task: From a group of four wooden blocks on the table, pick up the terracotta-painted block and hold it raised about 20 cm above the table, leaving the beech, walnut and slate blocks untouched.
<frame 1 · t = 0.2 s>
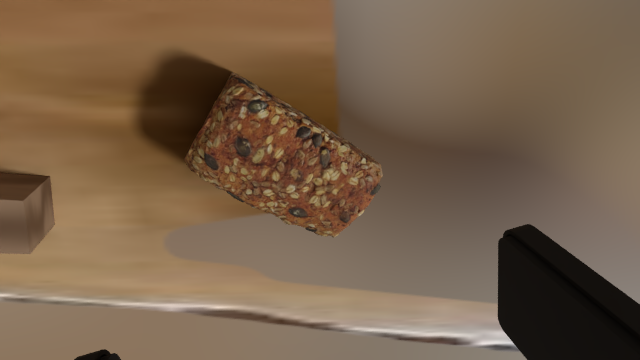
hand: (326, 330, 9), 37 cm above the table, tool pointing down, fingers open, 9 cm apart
bread: (280, 145, 46), on the table
walnut block: (21, 198, 43), on the table
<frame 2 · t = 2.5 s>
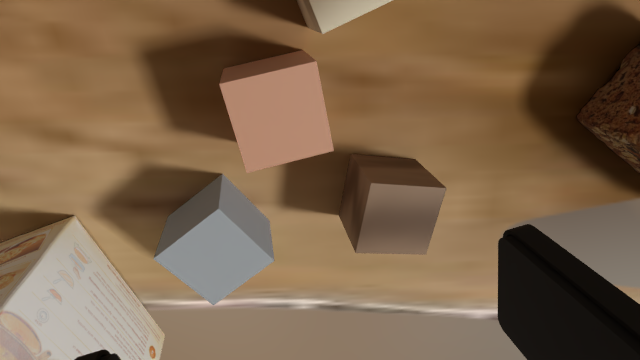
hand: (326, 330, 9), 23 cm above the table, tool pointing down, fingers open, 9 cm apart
walnut block: (376, 187, 35), on the table
coffeecake box: (89, 292, 34), on the table
terracotta block: (273, 98, 30), on the table
slate block: (220, 218, 33), on the table
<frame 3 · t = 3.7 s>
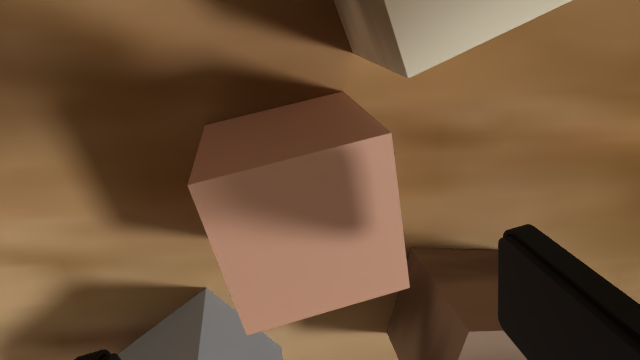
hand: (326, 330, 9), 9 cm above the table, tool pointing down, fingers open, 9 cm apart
walnut block: (445, 291, 23), on the table
terracotta block: (290, 170, 18), on the table
slate block: (203, 348, 21), on the table
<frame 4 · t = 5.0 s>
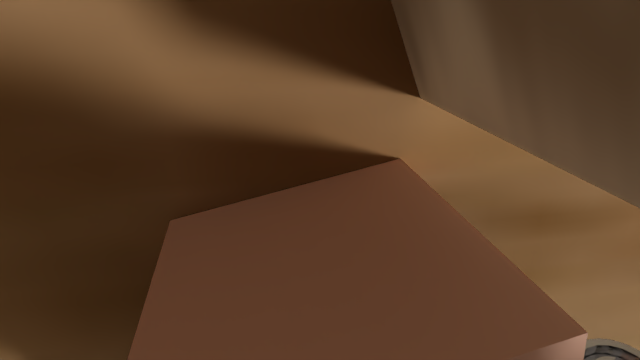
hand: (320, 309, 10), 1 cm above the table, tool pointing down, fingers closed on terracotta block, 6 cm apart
terracotta block: (312, 279, 11), on the table, touching gripper
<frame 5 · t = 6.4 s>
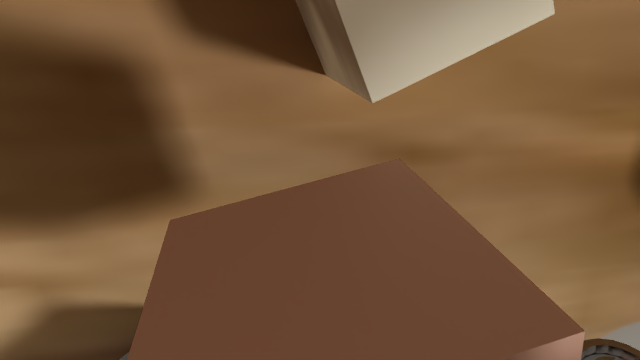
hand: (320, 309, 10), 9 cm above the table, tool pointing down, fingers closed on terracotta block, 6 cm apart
terracotta block: (312, 279, 11), point 8 cm above the table, touching gripper
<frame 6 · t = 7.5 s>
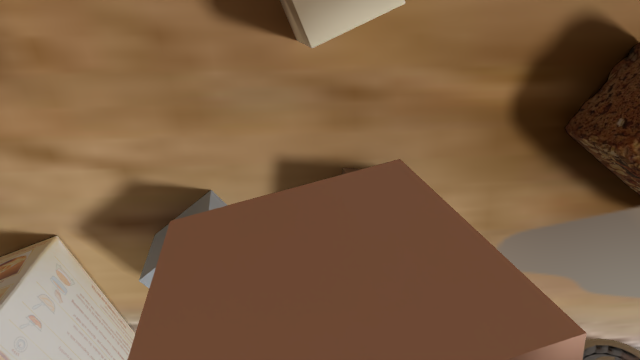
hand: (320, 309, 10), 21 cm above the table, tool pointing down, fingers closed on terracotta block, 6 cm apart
coffeecake box: (73, 314, 33), on the table
terracotta block: (312, 279, 11), point 20 cm above the table, touching gripper
slate block: (209, 235, 32), on the table
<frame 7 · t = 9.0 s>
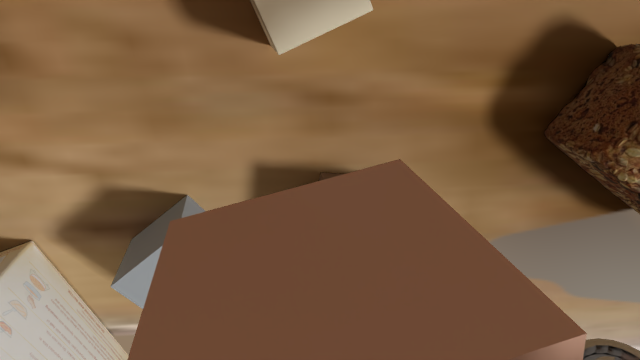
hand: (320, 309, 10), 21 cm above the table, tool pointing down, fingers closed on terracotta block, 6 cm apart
bread: (624, 138, 38), on the table
coffeecake box: (51, 318, 33), on the table
terracotta block: (312, 279, 11), point 20 cm above the table, touching gripper
slate block: (186, 239, 32), on the table
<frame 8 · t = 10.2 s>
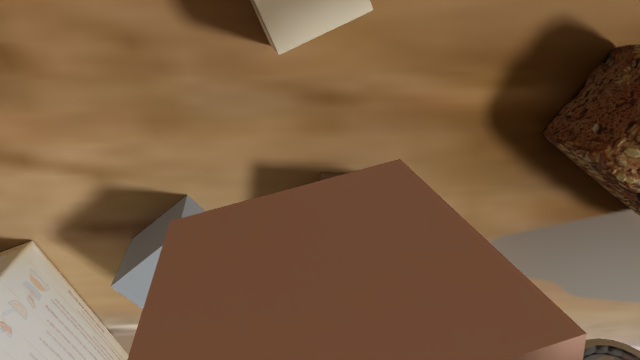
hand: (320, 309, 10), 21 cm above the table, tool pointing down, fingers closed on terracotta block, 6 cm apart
bread: (623, 138, 38), on the table
coffeecake box: (51, 318, 33), on the table
terracotta block: (312, 279, 11), point 20 cm above the table, touching gripper
slate block: (186, 239, 32), on the table
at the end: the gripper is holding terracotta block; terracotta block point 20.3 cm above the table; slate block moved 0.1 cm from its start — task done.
